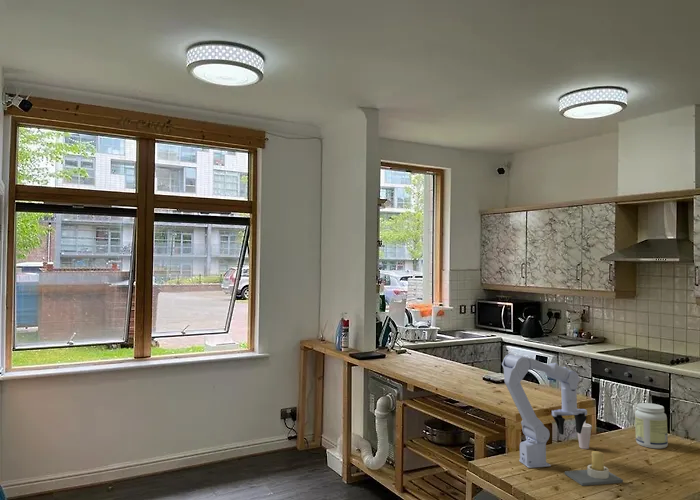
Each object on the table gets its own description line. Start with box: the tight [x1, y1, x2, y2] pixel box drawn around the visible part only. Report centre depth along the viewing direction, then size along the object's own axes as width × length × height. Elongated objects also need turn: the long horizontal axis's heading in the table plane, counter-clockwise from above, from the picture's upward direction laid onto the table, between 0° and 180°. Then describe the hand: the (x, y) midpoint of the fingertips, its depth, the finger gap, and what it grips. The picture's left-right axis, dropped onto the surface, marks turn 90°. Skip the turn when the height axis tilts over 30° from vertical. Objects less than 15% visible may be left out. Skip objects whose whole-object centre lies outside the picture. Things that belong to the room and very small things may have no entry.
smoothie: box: [577, 419, 593, 450], centre depth 224 cm, size 6×6×14 cm
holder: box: [564, 464, 624, 487], centre depth 190 cm, size 16×11×4 cm
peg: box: [590, 450, 605, 471], centre depth 191 cm, size 4×4×8 cm
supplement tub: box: [634, 402, 669, 449], centre depth 227 cm, size 12×12×17 cm
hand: (569, 433), depth 210 cm, fingers open, 7 cm apart
